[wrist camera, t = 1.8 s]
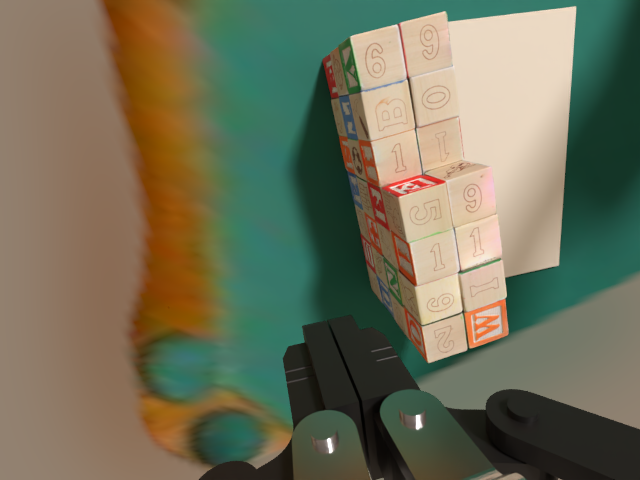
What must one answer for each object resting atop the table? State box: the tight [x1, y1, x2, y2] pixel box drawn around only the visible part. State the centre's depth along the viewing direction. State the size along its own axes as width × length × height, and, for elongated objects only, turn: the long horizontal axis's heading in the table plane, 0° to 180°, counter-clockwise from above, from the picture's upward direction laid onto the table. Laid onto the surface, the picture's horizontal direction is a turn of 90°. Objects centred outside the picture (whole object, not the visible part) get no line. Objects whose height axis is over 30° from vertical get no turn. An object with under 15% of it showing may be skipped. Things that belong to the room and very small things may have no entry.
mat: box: [448, 7, 576, 277], centre depth 35 cm, size 14×24×1 cm, turn 8°
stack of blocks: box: [323, 11, 509, 363], centre depth 28 cm, size 21×6×12 cm, turn 14°
